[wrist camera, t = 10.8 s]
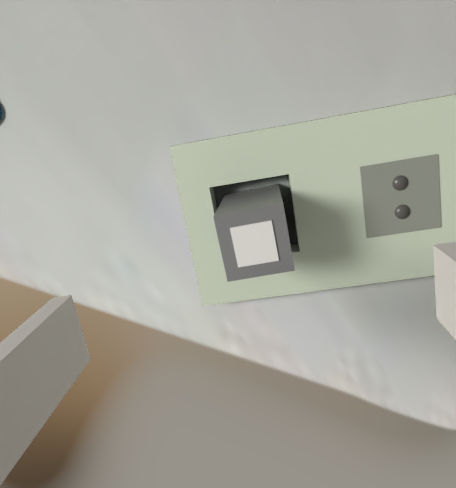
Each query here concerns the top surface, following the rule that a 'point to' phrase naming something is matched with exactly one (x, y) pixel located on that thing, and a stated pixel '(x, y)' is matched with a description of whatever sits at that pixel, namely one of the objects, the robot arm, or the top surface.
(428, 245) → the outlet plate
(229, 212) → the block
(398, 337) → the top surface
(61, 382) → the robot arm
